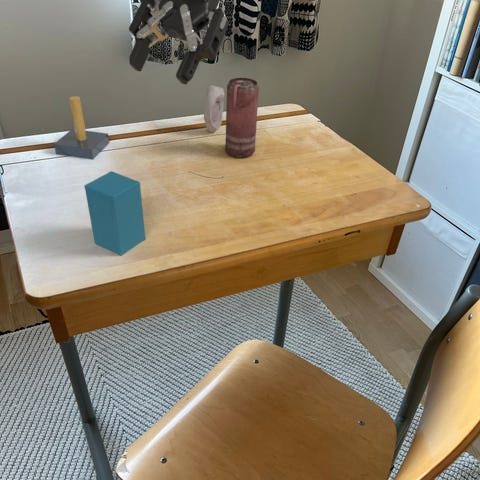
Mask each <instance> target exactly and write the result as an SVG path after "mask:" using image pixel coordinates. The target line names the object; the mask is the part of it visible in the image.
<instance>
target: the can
mask: <svg viewBox="0 0 480 480" xmlns="http://www.w3.org/2000/svg"><path fill="white" fill-rule="evenodd" d="M259 91H260V87H259V84H258V81H257V80H256V79H253V78H249V77H233V78H231V79H229V80H228V83H227V85H226V104H225V105H226V106H225V107H226V109H225V113H226V114H225V146H224V148H225V152H226V154H227V156H229V157H232V158H234V159H247V158H250V157H252V156H253V154H255V151H256V139H257V138H256V137H257V124H258V123H257V122H258V121H257V120H258V107H259V94H260V93H259Z"/></svg>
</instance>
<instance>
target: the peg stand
mask: <svg viewBox="0 0 480 480" xmlns="http://www.w3.org/2000/svg"><path fill="white" fill-rule="evenodd" d="M68 100H69V105H70V109H71V117H72V122H73V127H74V128H71V129H70V130H69V131H68V132H67V133H65V134H64V135H63V136H62V137H61V138H59V139H58V140H56V142H55V143H53V146H54V151H55V154H56V155H62V156H69V157H75V158H82V159H88V160H89V159H90V160H95V158H96V157H97V156H98V155H99V154H100V153H101V152H102V151H103V150H104V149H105V148H106V147H107V146H108V145H109V144H110V137H109V133H107V132H98V131H93V130H86V125H85V118H84V113H83V107H82V101H81V97H80V96H77V95H75V96H74V95H73V96H70V97H69V99H68Z"/></svg>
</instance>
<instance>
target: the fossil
mask: <svg viewBox="0 0 480 480" xmlns="http://www.w3.org/2000/svg"><path fill="white" fill-rule="evenodd" d="M205 94H206V96H205V97H206V98H205V100H204V105H203V119H204V125H205V127H206V129H207V131H208V132H211V133H213V132H216V131H219V129H220V128H221V125H222V122H223V115H224V100H225V96H226V95H225V94H226V93H225V90H224V88H223V87H220V86H218V85H212V84H210V85H209V87H208V88H207V90H206V93H205Z"/></svg>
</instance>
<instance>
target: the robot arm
mask: <svg viewBox="0 0 480 480" xmlns="http://www.w3.org/2000/svg"><path fill="white" fill-rule="evenodd" d="M220 1H221V0H141V3H140V4H139V6H138V9H137V10H136V13H135V15H134V16H133V18H132V21H131V22H130V25H129V26H128V30H129V32H130V33H131V34H132V36H133V37H134V38H135V39H136V41H135V43H134V45H133V48H132V51H131V53H130V55H129V59H128V62H129V65H130V67H132V68H133V69H134V71H136V72H142V70H143V68H144V66H145V63H146V61H147V59H148V56H149V55H150V52H151V48H152V47H153V46H154V45H156V44H157V43H158V42H164V41H165V40H166V39H168V38H170V39H171V38H172V39H180V40H181V41H184V42H187V45H188V46H187V47H188V50H189V51H187V50H186V51H185V53H184V55H183V57H182V59H181V62H180V64H179V66H178V68H177V71H176V74H175V78H176V79H177V80H178V82H179V83H180V84H182V85H188V84H189V82H191V81H192V79H193V77H194V75H195V73H196V72H197V71H196V70H197V68H198V66H199V64H200V62H202V61H203V60H205V59H209V61H214V60H215V59H216V58H217V55H218V53H219V50H220V48H221V45H222V42H223V40H224V38H225V34H226V32H227V29H228V27H229V24H230V21H229V20H228V18H227V16H226V14H225V13H224V11H223V9H222V8H220V7H218V6H219V4H220ZM159 24H160V26H161V28H162V29H160V28H159V26H158V25H159ZM206 27H207V30H206V31H205V35H204V37H202V30H203V29H205V28H206ZM149 35H150V36H149Z"/></svg>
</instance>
